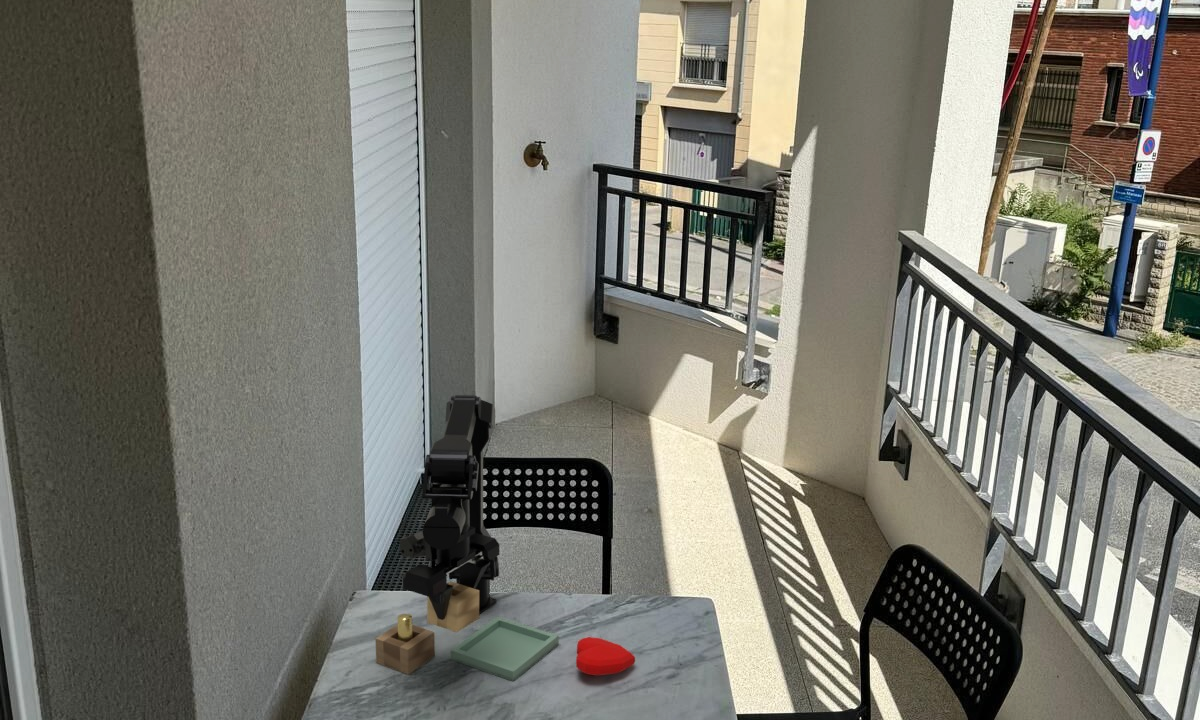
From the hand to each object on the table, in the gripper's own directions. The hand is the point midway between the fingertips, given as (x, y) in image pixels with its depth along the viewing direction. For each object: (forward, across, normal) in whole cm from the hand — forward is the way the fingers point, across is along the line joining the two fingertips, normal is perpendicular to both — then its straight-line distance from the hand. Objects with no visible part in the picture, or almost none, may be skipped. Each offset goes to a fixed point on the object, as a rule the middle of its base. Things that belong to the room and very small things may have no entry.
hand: (453, 610), depth 180 cm
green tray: (+12, -11, +3) cm, 16 cm away
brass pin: (+12, 0, -10) cm, 16 cm away
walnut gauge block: (+12, 0, -10) cm, 16 cm away
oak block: (+2, 0, 0) cm, 2 cm away
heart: (+12, -16, +20) cm, 28 cm away
